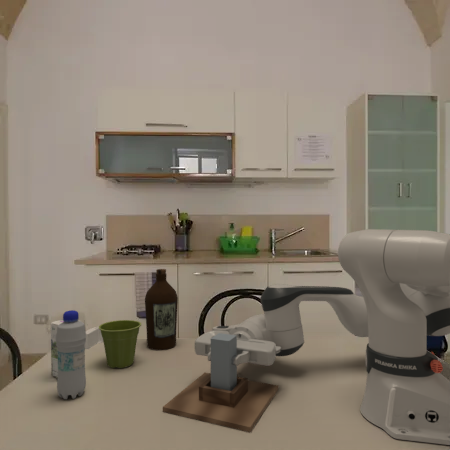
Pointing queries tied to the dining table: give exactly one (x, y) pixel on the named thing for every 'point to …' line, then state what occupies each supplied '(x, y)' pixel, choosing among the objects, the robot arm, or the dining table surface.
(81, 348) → the bottle
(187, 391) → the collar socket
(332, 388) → the dining table surface
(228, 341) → the grey peg
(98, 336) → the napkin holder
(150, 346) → the olive oil
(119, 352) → the plant pot
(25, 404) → the dining table surface
